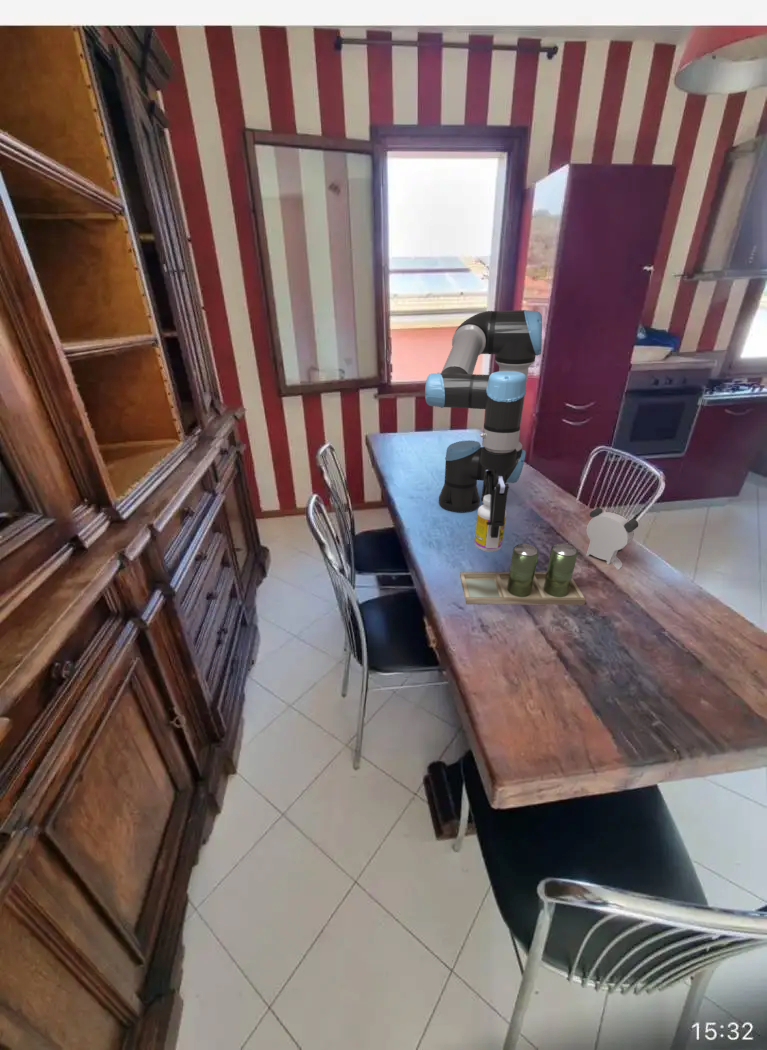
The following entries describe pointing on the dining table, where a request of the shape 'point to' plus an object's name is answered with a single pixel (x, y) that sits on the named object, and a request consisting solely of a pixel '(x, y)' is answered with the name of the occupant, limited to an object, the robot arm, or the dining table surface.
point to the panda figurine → (609, 535)
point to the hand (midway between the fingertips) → (488, 539)
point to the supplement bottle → (486, 526)
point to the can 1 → (522, 570)
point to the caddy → (495, 592)
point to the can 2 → (560, 570)
